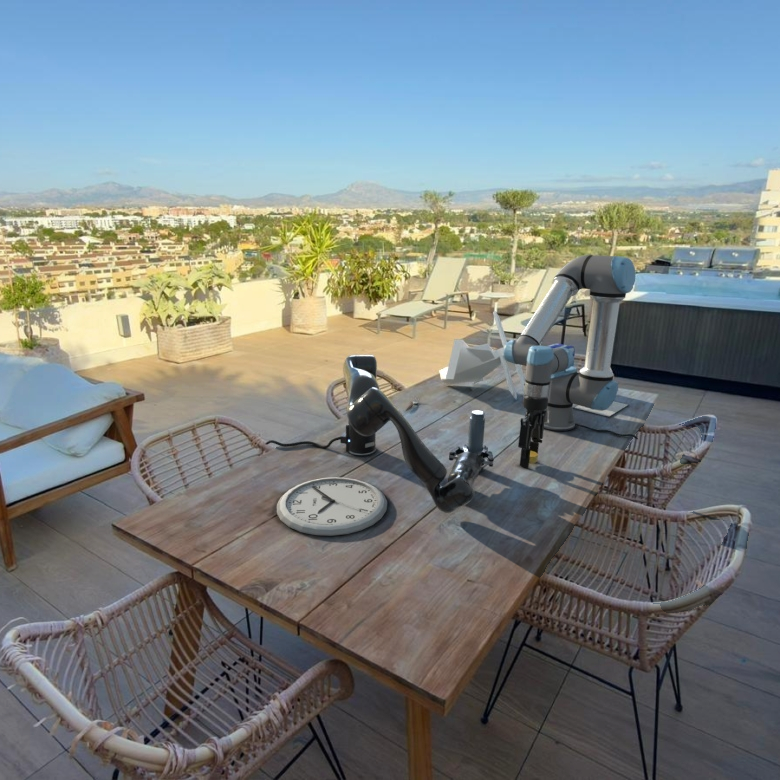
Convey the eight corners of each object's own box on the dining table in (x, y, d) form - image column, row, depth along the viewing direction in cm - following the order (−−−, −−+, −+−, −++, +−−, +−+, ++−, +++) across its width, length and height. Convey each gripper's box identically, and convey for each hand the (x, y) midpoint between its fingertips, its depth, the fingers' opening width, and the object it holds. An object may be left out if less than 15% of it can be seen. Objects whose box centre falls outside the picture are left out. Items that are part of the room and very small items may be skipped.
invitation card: (608, 416, 214) (573, 407, 224) (608, 416, 214) (573, 408, 224) (628, 404, 229) (594, 396, 238) (628, 405, 229) (594, 397, 238)
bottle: (472, 473, 163) (476, 415, 157) (463, 467, 167) (467, 411, 161) (484, 470, 165) (488, 413, 159) (475, 464, 169) (479, 409, 163)
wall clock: (392, 527, 129) (268, 531, 127) (391, 533, 130) (269, 537, 127) (383, 473, 158) (282, 475, 155) (383, 478, 158) (282, 480, 156)
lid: (534, 456, 172) (535, 450, 171) (539, 463, 167) (539, 457, 166) (518, 456, 172) (519, 450, 171) (522, 463, 167) (523, 456, 166)
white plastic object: (461, 429, 252) (437, 405, 227) (444, 352, 274) (420, 323, 250) (535, 404, 240) (518, 377, 215) (510, 326, 262) (492, 293, 237)
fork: (403, 411, 216) (403, 406, 215) (414, 400, 230) (414, 395, 230) (409, 412, 215) (409, 407, 215) (420, 400, 229) (420, 396, 229)
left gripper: (491, 461, 148) (500, 439, 163) (442, 453, 152) (455, 433, 168) (490, 485, 150) (498, 461, 165) (441, 476, 154) (454, 454, 170)
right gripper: (537, 387, 172) (530, 452, 179) (511, 399, 159) (504, 469, 166) (559, 392, 168) (551, 458, 174) (534, 405, 154) (526, 476, 161)
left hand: (476, 447), depth 166 cm, fingers closed on bottle, 4 cm apart
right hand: (528, 463), depth 170 cm, fingers closed on lid, 5 cm apart
